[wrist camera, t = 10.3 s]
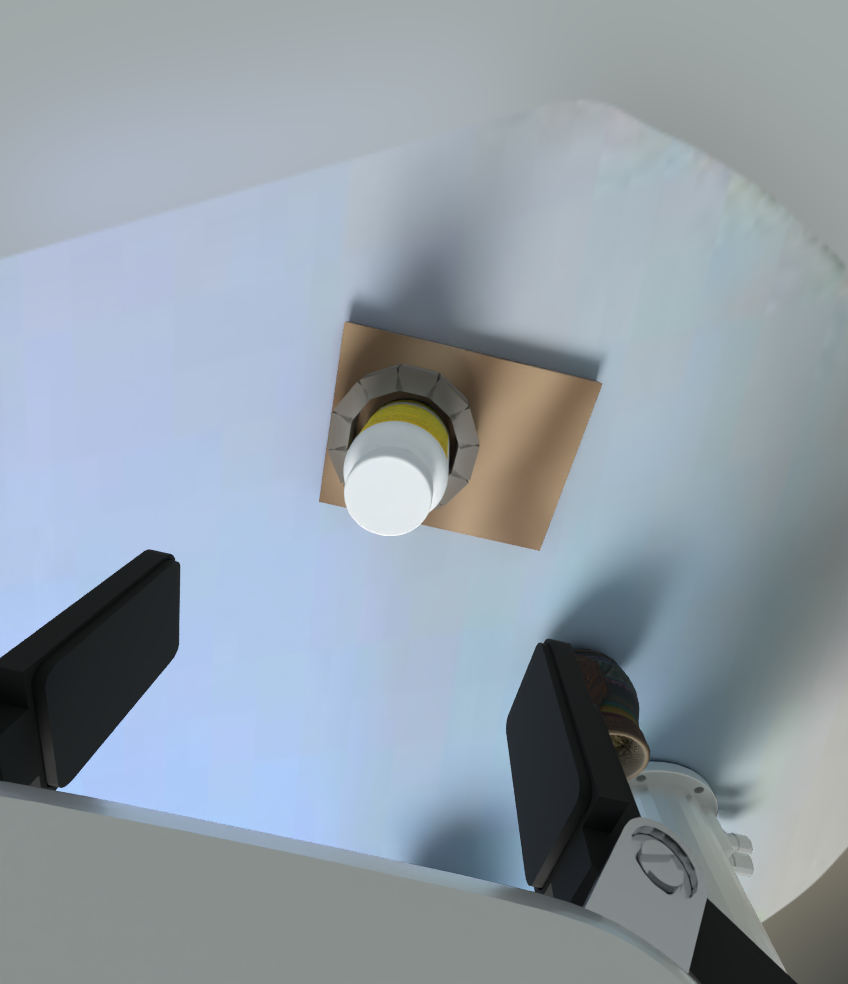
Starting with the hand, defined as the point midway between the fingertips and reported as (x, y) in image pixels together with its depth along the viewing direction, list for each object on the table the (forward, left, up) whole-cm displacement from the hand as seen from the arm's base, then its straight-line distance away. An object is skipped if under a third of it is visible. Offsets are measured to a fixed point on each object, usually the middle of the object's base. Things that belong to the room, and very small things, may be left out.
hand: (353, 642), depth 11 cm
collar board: (-3, 0, -20) cm, 20 cm away
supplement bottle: (0, 0, -19) cm, 19 cm away
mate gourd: (-18, +17, -20) cm, 32 cm away
